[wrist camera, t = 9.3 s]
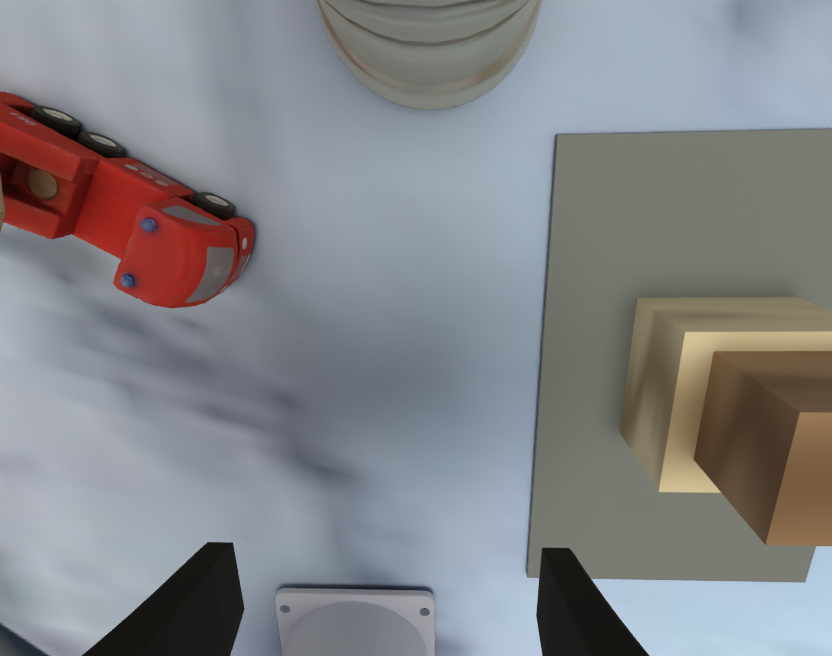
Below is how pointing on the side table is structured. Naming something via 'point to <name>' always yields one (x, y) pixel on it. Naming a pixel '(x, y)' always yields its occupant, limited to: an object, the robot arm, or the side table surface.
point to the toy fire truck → (117, 208)
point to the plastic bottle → (429, 45)
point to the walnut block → (772, 441)
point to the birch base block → (699, 370)
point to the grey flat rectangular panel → (614, 320)
